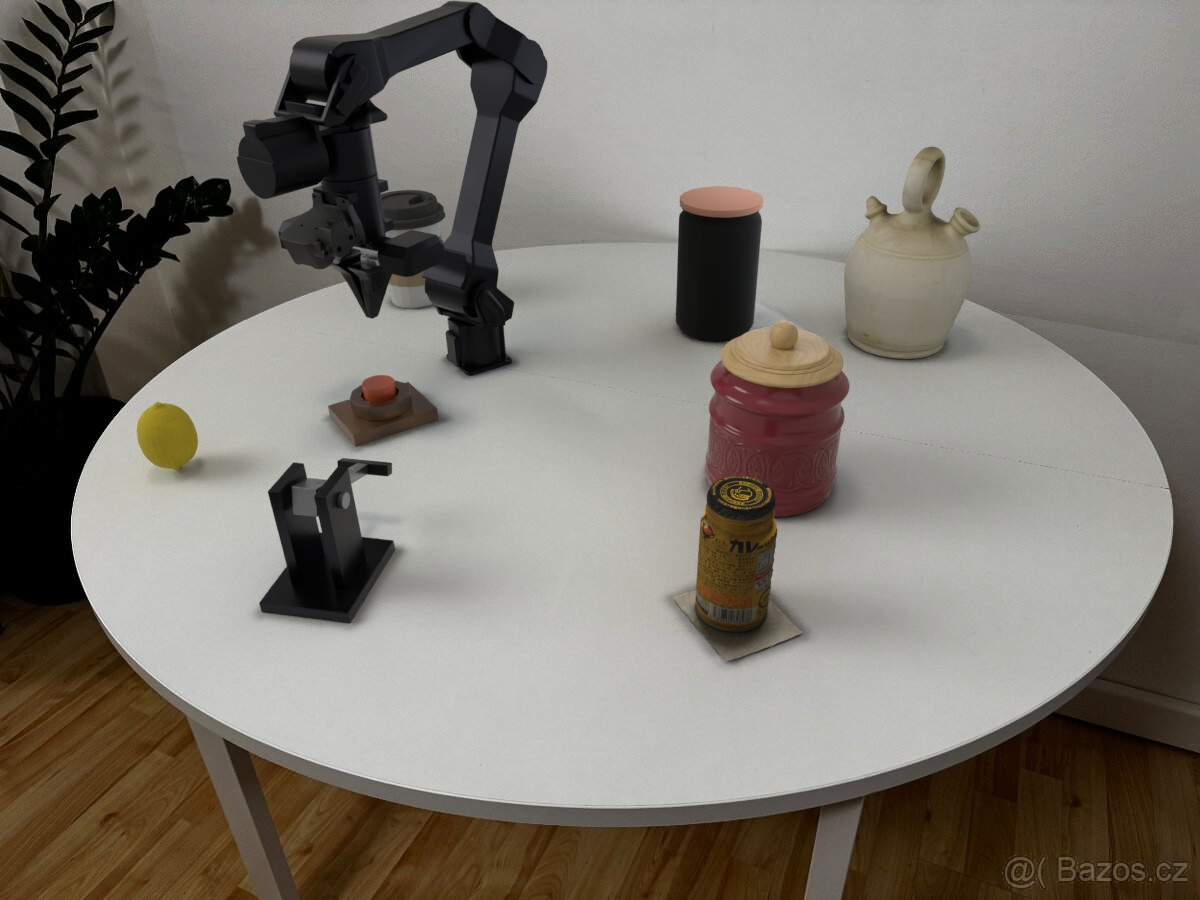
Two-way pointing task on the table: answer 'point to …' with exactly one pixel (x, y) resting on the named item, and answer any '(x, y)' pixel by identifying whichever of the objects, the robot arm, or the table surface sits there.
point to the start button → (379, 388)
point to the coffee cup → (408, 214)
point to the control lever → (309, 487)
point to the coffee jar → (717, 262)
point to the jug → (909, 269)
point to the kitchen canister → (778, 414)
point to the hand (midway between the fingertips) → (372, 316)
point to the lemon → (167, 436)
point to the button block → (382, 414)
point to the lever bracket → (323, 552)
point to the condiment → (737, 570)
